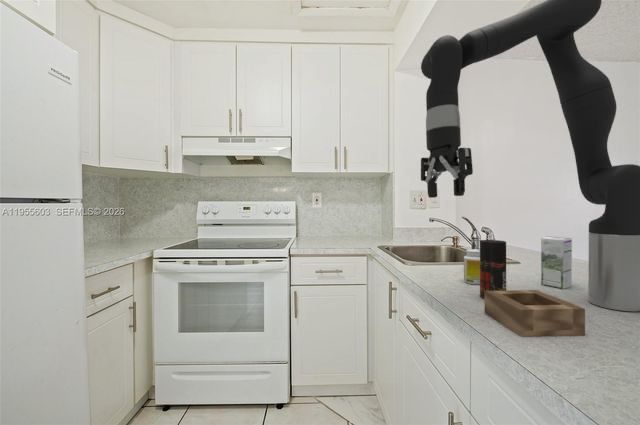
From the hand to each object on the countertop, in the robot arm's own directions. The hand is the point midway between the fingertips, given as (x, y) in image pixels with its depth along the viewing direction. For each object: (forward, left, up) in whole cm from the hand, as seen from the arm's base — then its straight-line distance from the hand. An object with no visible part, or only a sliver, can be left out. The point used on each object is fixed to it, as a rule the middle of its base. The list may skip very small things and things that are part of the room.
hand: (445, 196), depth 69 cm
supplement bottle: (-18, -21, -27) cm, 39 cm away
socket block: (-13, +10, -27) cm, 31 cm away
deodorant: (-15, -6, -27) cm, 32 cm away
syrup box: (-40, -16, -27) cm, 51 cm away
